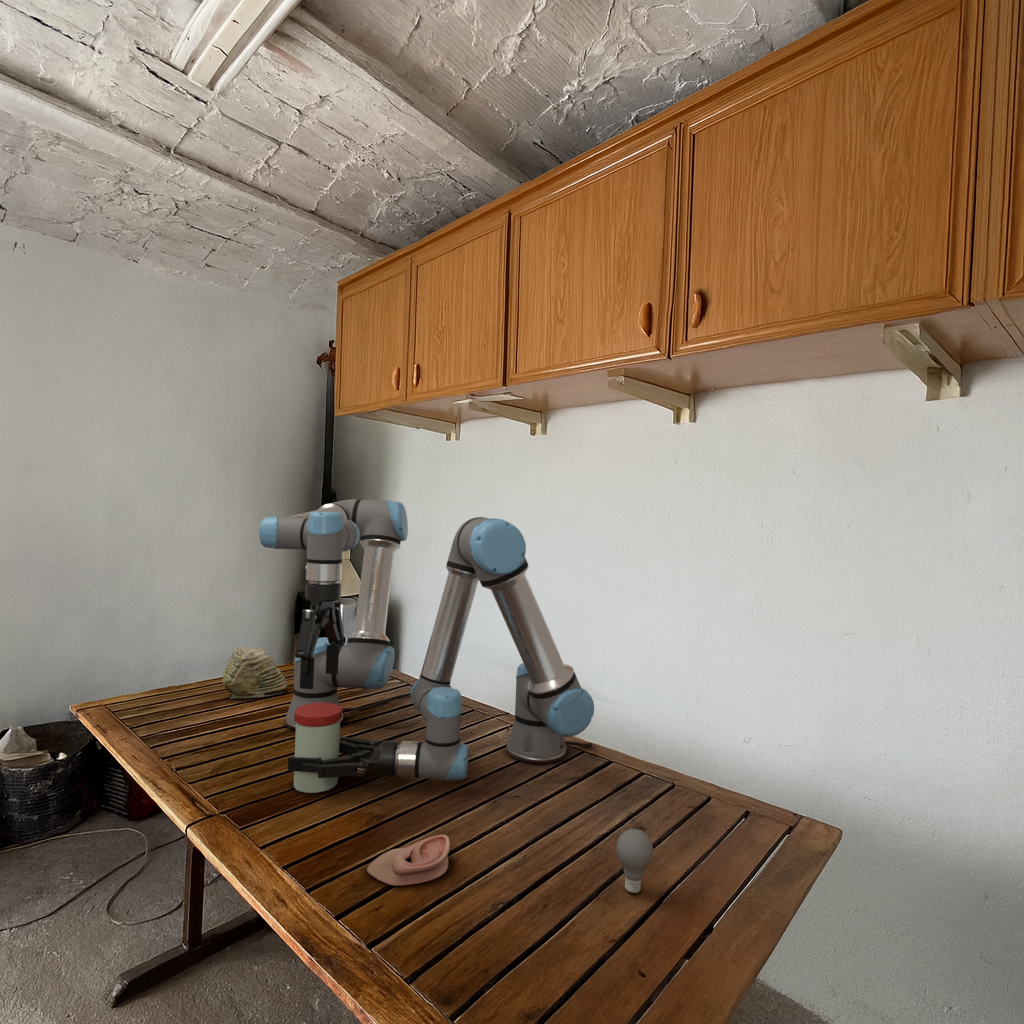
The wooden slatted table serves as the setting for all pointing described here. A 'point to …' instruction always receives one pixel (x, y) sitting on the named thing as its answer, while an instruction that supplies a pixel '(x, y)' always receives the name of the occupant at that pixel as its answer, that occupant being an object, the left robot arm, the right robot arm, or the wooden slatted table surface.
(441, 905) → the wooden slatted table surface
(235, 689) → the fossil
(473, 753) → the wooden slatted table surface
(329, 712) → the lid
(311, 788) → the jar
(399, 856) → the anatomical model
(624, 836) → the light bulb
